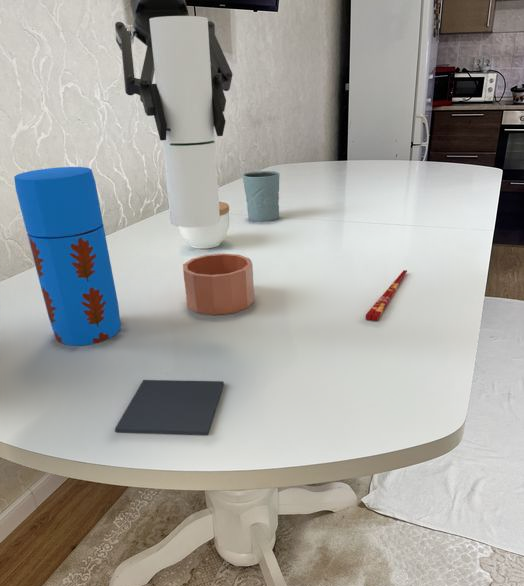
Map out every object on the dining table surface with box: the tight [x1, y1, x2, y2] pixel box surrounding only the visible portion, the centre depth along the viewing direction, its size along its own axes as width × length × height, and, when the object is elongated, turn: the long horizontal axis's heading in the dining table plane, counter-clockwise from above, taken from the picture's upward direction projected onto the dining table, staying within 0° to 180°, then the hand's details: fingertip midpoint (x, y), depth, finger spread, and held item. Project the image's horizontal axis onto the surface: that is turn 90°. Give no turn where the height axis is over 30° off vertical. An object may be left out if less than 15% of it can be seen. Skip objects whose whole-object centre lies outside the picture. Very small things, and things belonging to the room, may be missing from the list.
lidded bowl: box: [178, 201, 230, 250], centre depth 125 cm, size 13×13×11 cm
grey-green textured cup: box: [242, 170, 280, 223], centre depth 145 cm, size 10×10×12 cm
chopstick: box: [365, 269, 408, 322], centre depth 94 cm, size 2×24×1 cm, turn 154°
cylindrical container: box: [149, 15, 220, 228], centre depth 70 cm, size 7×7×25 cm
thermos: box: [13, 166, 122, 347], centre depth 80 cm, size 11×11×25 cm
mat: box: [114, 379, 225, 436], centre depth 65 cm, size 11×11×1 cm
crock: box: [182, 253, 255, 316], centre depth 93 cm, size 12×12×7 cm
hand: (192, 130), depth 68 cm, fingers closed on cylindrical container, 7 cm apart
